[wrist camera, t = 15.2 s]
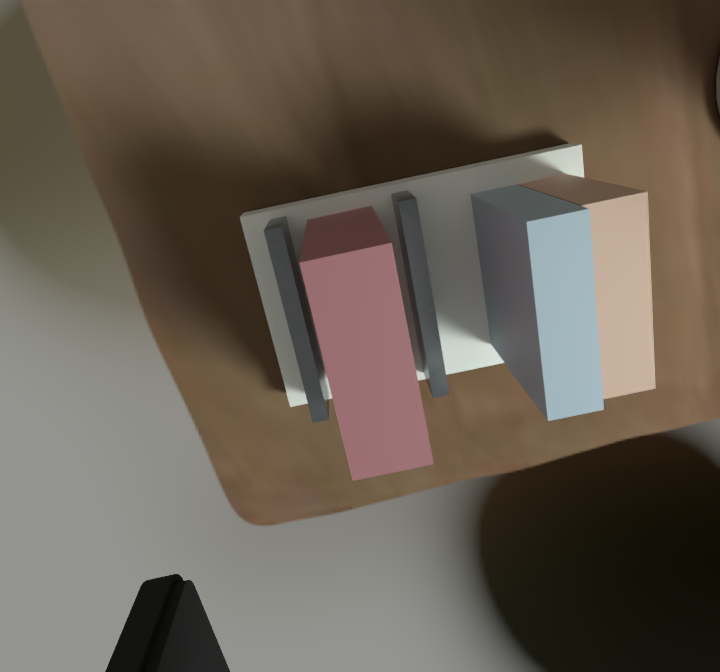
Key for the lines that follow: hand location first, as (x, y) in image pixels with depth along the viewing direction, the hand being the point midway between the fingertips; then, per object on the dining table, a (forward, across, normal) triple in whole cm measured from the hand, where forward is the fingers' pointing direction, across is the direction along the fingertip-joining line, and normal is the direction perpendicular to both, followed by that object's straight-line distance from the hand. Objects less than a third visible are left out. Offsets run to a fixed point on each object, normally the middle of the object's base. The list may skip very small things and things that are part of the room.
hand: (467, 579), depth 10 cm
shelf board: (+31, -3, +3) cm, 31 cm away
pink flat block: (+29, +2, +3) cm, 29 cm away
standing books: (+29, -9, +3) cm, 31 cm away
